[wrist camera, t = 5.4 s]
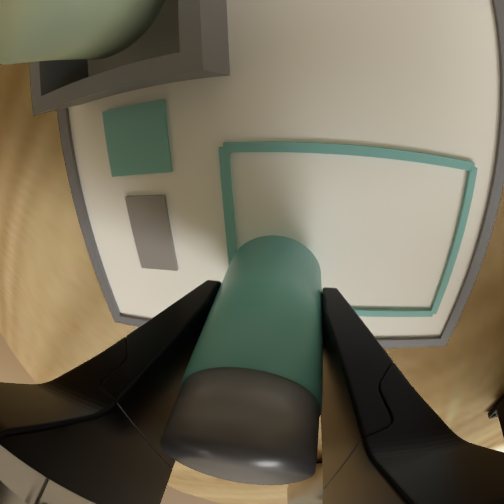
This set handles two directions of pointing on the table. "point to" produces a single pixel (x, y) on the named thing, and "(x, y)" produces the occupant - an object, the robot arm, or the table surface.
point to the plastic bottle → (307, 489)
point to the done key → (71, 28)
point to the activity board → (292, 151)
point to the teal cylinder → (255, 371)
